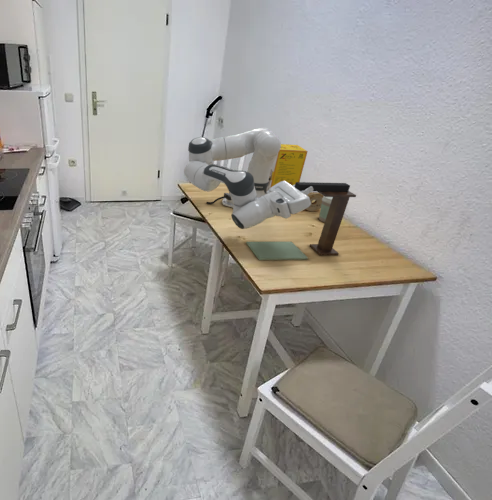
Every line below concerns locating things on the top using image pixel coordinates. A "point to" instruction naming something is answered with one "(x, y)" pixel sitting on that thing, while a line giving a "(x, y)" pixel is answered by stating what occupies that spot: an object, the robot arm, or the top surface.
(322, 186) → the black bar
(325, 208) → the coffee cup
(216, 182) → the robot arm
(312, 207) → the stone disc
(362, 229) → the top surface
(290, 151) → the packaging box
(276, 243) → the base pad
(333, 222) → the shelf stand
